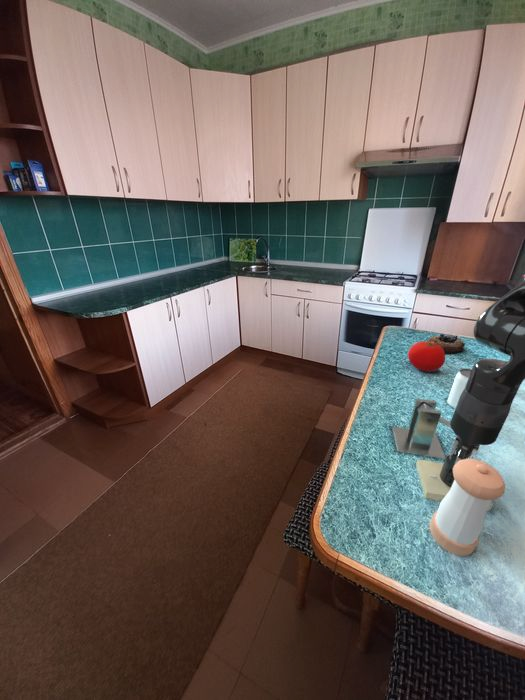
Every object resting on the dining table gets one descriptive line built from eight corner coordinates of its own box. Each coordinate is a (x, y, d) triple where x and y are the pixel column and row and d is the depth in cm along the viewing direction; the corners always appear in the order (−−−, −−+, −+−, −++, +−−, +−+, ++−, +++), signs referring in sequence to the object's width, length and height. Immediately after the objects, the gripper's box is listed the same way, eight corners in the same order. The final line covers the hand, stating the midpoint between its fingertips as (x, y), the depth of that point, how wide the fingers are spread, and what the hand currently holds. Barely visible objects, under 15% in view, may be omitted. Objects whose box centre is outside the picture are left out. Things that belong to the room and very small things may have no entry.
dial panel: (471, 477, 66) (475, 467, 65) (488, 514, 59) (493, 504, 57) (414, 467, 69) (417, 458, 68) (423, 501, 61) (427, 491, 60)
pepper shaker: (482, 557, 52) (525, 484, 43) (443, 561, 51) (478, 488, 43) (455, 517, 58) (487, 447, 49) (420, 521, 58) (446, 450, 49)
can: (445, 398, 93) (456, 366, 88) (469, 403, 91) (482, 370, 85) (447, 409, 88) (458, 376, 83) (472, 415, 85) (486, 381, 80)
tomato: (440, 379, 103) (448, 353, 98) (403, 370, 109) (409, 345, 104) (442, 365, 112) (449, 340, 107) (407, 357, 117) (413, 334, 113)
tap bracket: (434, 436, 78) (447, 397, 72) (444, 462, 71) (460, 421, 65) (391, 430, 81) (400, 392, 75) (396, 454, 73) (407, 414, 67)
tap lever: (460, 434, 73) (470, 426, 71) (464, 443, 70) (475, 435, 69) (415, 409, 73) (424, 400, 71) (418, 417, 70) (427, 408, 68)
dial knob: (442, 466, 66) (449, 449, 63) (467, 478, 63) (475, 461, 60) (437, 480, 62) (443, 463, 60) (462, 493, 60) (470, 475, 57)
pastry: (467, 352, 121) (471, 339, 118) (442, 355, 119) (446, 342, 116) (447, 341, 131) (450, 329, 128) (423, 344, 128) (427, 332, 126)
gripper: (497, 444, 47) (465, 509, 55) (510, 404, 56) (481, 465, 64) (446, 422, 52) (423, 486, 60) (466, 388, 61) (444, 447, 69)
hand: (453, 475), depth 62 cm, fingers closed on dial knob, 5 cm apart
